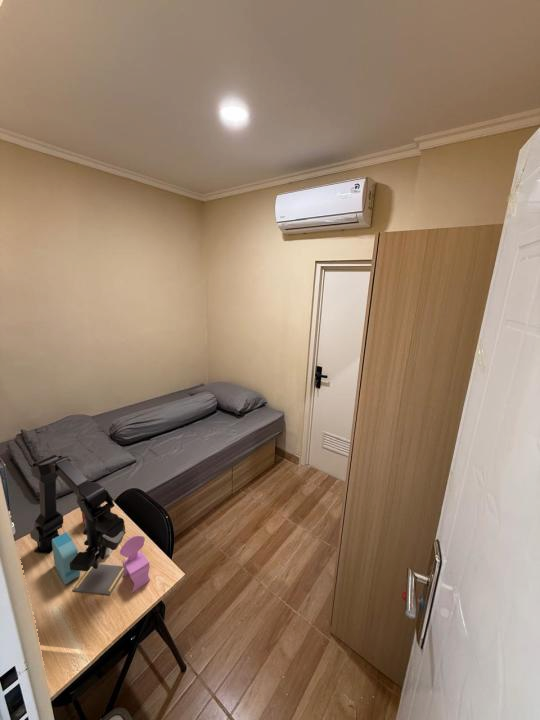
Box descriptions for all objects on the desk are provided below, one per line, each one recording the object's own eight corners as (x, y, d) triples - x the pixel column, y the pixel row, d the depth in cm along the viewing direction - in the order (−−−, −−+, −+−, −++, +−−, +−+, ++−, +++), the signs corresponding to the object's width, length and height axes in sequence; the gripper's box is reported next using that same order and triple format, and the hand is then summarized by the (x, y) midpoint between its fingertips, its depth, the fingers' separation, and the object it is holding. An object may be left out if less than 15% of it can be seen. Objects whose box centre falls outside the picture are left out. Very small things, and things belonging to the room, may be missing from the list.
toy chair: (129, 596, 94) (126, 558, 91) (119, 578, 100) (116, 541, 97) (153, 579, 100) (152, 543, 97) (143, 563, 106) (141, 528, 103)
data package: (80, 577, 100) (77, 548, 97) (65, 586, 96) (62, 557, 94) (69, 557, 107) (66, 530, 105) (54, 565, 104) (51, 537, 101)
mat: (72, 591, 95) (72, 590, 95) (92, 564, 105) (92, 563, 105) (110, 594, 94) (110, 593, 94) (126, 567, 104) (126, 566, 104)
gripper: (101, 550, 86) (105, 592, 89) (134, 506, 104) (136, 543, 107) (65, 547, 86) (70, 589, 89) (104, 504, 104) (107, 540, 108)
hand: (99, 563), depth 98 cm, fingers open, 3 cm apart
